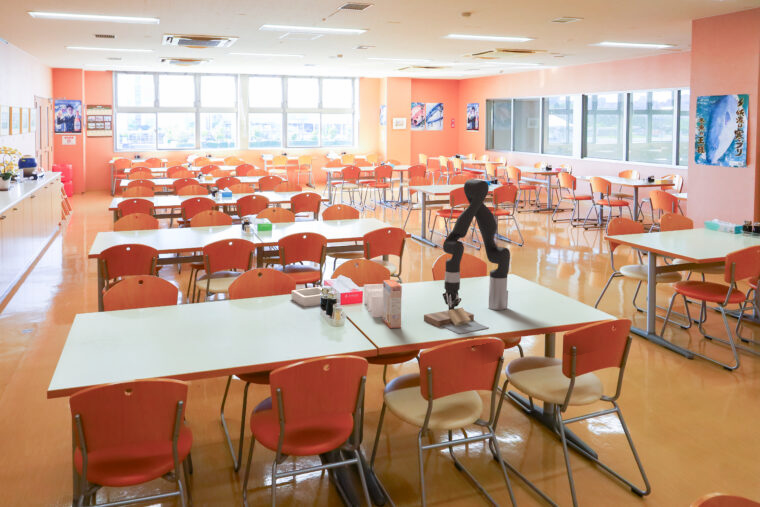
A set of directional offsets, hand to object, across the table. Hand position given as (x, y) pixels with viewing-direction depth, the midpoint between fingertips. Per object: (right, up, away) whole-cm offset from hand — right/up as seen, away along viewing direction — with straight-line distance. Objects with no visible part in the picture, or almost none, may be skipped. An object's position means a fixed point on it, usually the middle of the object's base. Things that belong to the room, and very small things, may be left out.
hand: (451, 314), depth 320 cm
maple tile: (+3, -2, -3) cm, 5 cm away
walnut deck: (-1, -3, +2) cm, 4 cm away
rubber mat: (+5, -6, -8) cm, 11 cm away
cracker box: (-30, -5, -4) cm, 30 cm away
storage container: (-36, 0, +20) cm, 42 cm away
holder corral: (-73, +4, +36) cm, 82 cm away
